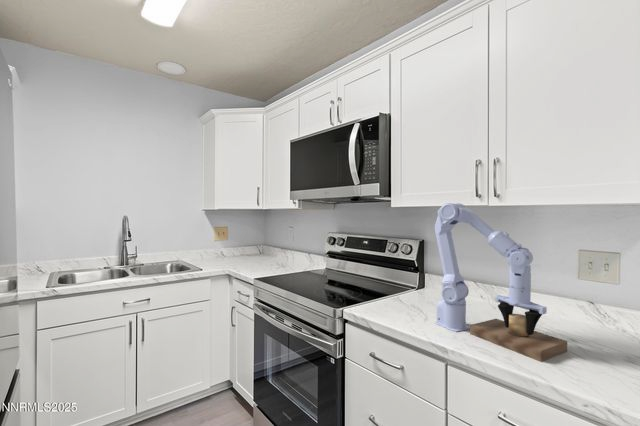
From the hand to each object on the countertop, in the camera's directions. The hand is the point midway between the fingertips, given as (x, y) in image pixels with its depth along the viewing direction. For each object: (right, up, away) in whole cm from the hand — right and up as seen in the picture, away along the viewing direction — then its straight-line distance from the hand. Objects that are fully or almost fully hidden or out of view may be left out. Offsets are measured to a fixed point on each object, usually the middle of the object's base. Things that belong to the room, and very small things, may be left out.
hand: (519, 330), depth 100 cm
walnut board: (0, -4, +1) cm, 4 cm away
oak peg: (0, -4, 0) cm, 4 cm away
